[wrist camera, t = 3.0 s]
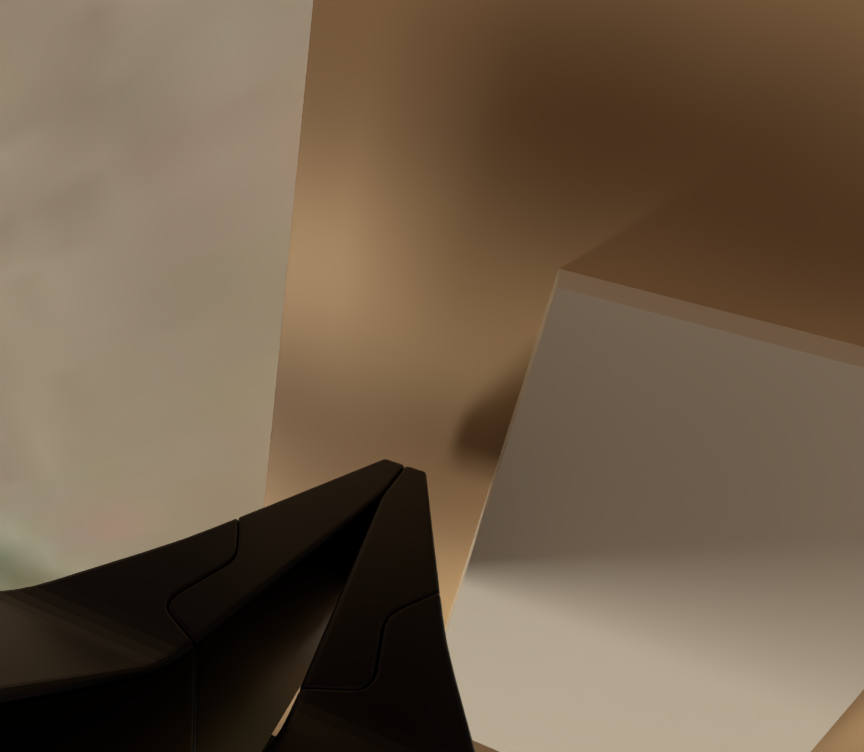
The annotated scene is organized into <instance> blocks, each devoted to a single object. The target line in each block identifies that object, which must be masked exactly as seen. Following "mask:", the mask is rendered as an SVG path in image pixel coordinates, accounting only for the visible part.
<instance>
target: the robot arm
mask: <svg viewBox="0 0 864 752" xmlns="http://www.w3.org/2000/svg"><path fill="white" fill-rule="evenodd" d="M300 686H301V687H300ZM299 688H300V692H299V693H298V695H297V697H296V699H295V701H294V704H293V706H292V708H291V710H290V712H289V714H288V716H287V718H286V720H285V722H284V724H283V726H282V728H281V730H280V731H279V732H278V734H277V735H276V736H274V735H272V733H273V732H274V730H275V728H276V727H277V725H278V723H279V722H280V720H281V718H282V717H283V715H284V713H285V712H286V710H287V708H288V707H289V705H290V703H291V702H292V700H293V698H294V697H295V695H296V693H297V691H298V690H299ZM0 752H475V748H474V744H473V741H472V737H471V733H470V730H469V726H468V722H467V719H466V715H465V711H464V708H463V704H462V700H461V697H460V693H459V689H458V686H457V682H456V678H455V674H454V670H453V666H452V662H451V657H450V653H449V649H448V644H447V639H446V633H445V626H444V620H443V613H442V605H441V597H440V590H439V581H438V572H437V563H436V555H435V546H434V537H433V529H432V520H431V511H430V503H429V494H428V485H427V476H426V473H425V472H424V471H421V470H418V469H415V468H412V467H408V466H407V467H405V468H404V466H403V465H402V464H400V463H397V462H394V461H391V460H388V459H383V460H380V461H378V462H375V463H373V464H371V465H368V466H366V467H363V468H361V469H358V470H356V471H353V472H351V473H348V474H346V475H343V476H341V477H338V478H336V479H333V480H331V481H328V482H326V483H324V484H321V485H319V486H316V487H314V488H311V489H309V490H306V491H304V492H301V493H299V494H296V495H294V496H291V497H289V498H286V499H284V500H281V501H279V502H277V503H274V504H272V505H269V506H267V507H264V508H262V509H259V510H257V511H254V512H252V513H249V514H247V515H244V516H242V517H240V518H239V521H238V520H237V519H234V520H232V521H229V522H227V523H224V524H222V525H219V526H217V527H214V528H212V529H209V530H206V531H204V532H201V533H198V534H196V535H193V536H190V537H188V538H185V539H182V540H179V541H176V542H173V543H170V544H167V545H164V546H161V547H158V548H155V549H152V550H149V551H146V552H143V553H140V554H137V555H133V556H130V557H127V558H124V559H121V560H117V561H114V562H111V563H108V564H104V565H101V566H98V567H95V568H92V569H88V570H85V571H82V572H79V573H76V574H72V575H69V576H66V577H63V578H60V579H56V580H53V581H50V582H46V583H43V584H39V585H35V586H31V587H26V588H21V589H15V590H6V591H0Z"/></svg>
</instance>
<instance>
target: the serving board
mask: <svg viewBox="0 0 864 752" xmlns="http://www.w3.org/2000/svg"><path fill="white" fill-rule="evenodd" d="M559 269H562V270H566V271H570V272H574V273H578V274H582V275H585V276H589V277H593V278H597V279H601V280H605V281H609V282H613V283H617V284H621V285H624V286H628V287H632V288H636V289H640V290H644V291H648V292H652V293H656V294H659V295H663V296H667V297H671V298H675V299H679V300H683V301H687V302H691V303H695V304H698V305H702V306H706V307H710V308H714V309H718V310H722V311H726V312H730V313H734V314H737V315H741V316H745V317H749V318H753V319H757V320H761V321H765V322H769V323H773V324H776V325H780V326H784V327H788V328H792V329H796V330H800V331H804V332H808V333H811V334H815V335H819V336H823V337H827V338H831V339H835V340H839V341H843V342H847V343H850V344H854V345H858V346H862V347H864V0H314V1H313V11H312V22H311V32H310V42H309V52H308V63H307V73H306V83H305V93H304V104H303V114H302V124H301V134H300V145H299V155H298V165H297V175H296V186H295V196H294V206H293V216H292V227H291V237H290V247H289V257H288V268H287V278H286V288H285V298H284V309H283V319H282V329H281V339H280V350H279V360H278V370H277V381H276V391H275V401H274V411H273V422H272V432H271V442H270V452H269V463H268V473H267V483H266V493H265V504H264V507H267V506H269V505H272V504H274V503H277V502H279V501H281V500H284V499H286V498H289V497H291V496H294V495H296V494H299V493H301V492H304V491H306V490H309V489H311V488H314V487H316V486H319V485H321V484H324V483H326V482H328V481H331V480H333V479H336V478H338V477H341V476H343V475H346V474H348V473H351V472H353V471H356V470H358V469H361V468H363V467H366V466H368V465H371V464H373V463H375V462H378V461H380V460H383V459H388V460H391V461H394V462H397V463H400V464H402V465H403V466H404V468H405V467H407V466H408V467H412V468H415V469H418V470H421V471H424V472H425V473H426V476H427V485H428V494H429V503H430V511H431V520H432V529H433V537H434V546H435V555H436V563H437V572H438V581H439V590H440V597H441V605H442V613H443V620H444V626H445V627H446V624H447V621H448V618H449V614H450V611H451V608H452V605H453V602H454V599H455V595H456V592H457V589H458V586H459V583H460V580H461V576H462V573H463V570H464V567H465V564H466V561H467V558H468V554H469V551H470V548H471V545H472V542H473V539H474V535H475V532H476V529H477V526H478V523H479V520H480V516H481V513H482V510H483V507H484V504H485V501H486V498H487V494H488V491H489V488H490V485H491V482H492V479H493V475H494V472H495V469H496V466H497V463H498V460H499V457H500V453H501V450H502V447H503V444H504V441H505V438H506V434H507V431H508V428H509V425H510V422H511V419H512V415H513V412H514V409H515V406H516V403H517V400H518V397H519V393H520V390H521V387H522V384H523V381H524V378H525V374H526V371H527V368H528V365H529V362H530V359H531V355H532V352H533V349H534V346H535V343H536V340H537V337H538V333H539V330H540V327H541V324H542V321H543V318H544V314H545V311H546V308H547V305H548V302H549V299H550V296H551V292H552V289H553V286H554V283H555V280H556V277H557V273H558V270H559ZM300 687H301V686H300ZM299 692H300V688H299V690H298V691H297V693H296V695H295V697H294V698H293V700H292V702H291V703H290V705H289V707H288V708H287V710H286V712H285V713H284V715H283V717H282V718H281V720H280V722H279V723H278V725H277V727H276V728H275V730H274V732H273V733H272V735H274V736H276V735H277V734H278V732H279V731H280V730H281V728H282V726H283V724H284V722H285V720H286V718H287V716H288V714H289V712H290V710H291V708H292V706H293V704H294V701H295V699H296V697H297V695H298V693H299ZM472 741H473V740H472ZM473 744H474V748H475V752H499V751H497V750H494V749H492V748H490V747H487V746H485V745H483V744H480V743H478V742H476V741H473ZM811 752H864V690H863V691H862V692H861V693H860V694H859V696H858V697H857V698H856V699H855V700H854V701H853V703H852V704H851V705H850V706H849V707H848V708H847V710H846V711H845V712H844V713H843V714H842V715H841V717H840V718H839V719H838V720H837V721H836V723H835V724H834V725H833V726H832V727H831V728H830V730H829V731H828V732H827V733H826V734H825V735H824V737H823V738H822V739H821V740H820V741H819V742H818V744H817V745H816V746H815V747H814V748H813V750H812V751H811Z"/></svg>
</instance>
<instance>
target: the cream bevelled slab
mask: <svg viewBox="0 0 864 752" xmlns="http://www.w3.org/2000/svg"><path fill="white" fill-rule="evenodd" d="M445 633H446V639H447V644H448V649H449V653H450V657H451V662H452V666H453V670H454V674H455V678H456V682H457V686H458V689H459V693H460V697H461V700H462V704H463V708H464V711H465V715H466V719H467V722H468V726H469V730H470V733H471V737H472V740H473V741H476V742H478V743H480V744H483V745H485V746H487V747H490V748H492V749H494V750H497V751H499V752H811V751H812V750H813V748H814V747H815V746H816V745H817V744H818V742H819V741H820V740H821V739H822V738H823V737H824V735H825V734H826V733H827V732H828V731H829V730H830V728H831V727H832V726H833V725H834V724H835V723H836V721H837V720H838V719H839V718H840V717H841V715H842V714H843V713H844V712H845V711H846V710H847V708H848V707H849V706H850V705H851V704H852V703H853V701H854V700H855V699H856V698H857V697H858V696H859V694H860V693H861V692H862V691H863V690H864V347H862V346H858V345H854V344H850V343H847V342H843V341H839V340H835V339H831V338H827V337H823V336H819V335H815V334H811V333H808V332H804V331H800V330H796V329H792V328H788V327H784V326H780V325H776V324H773V323H769V322H765V321H761V320H757V319H753V318H749V317H745V316H741V315H737V314H734V313H730V312H726V311H722V310H718V309H714V308H710V307H706V306H702V305H698V304H695V303H691V302H687V301H683V300H679V299H675V298H671V297H667V296H663V295H659V294H656V293H652V292H648V291H644V290H640V289H636V288H632V287H628V286H624V285H621V284H617V283H613V282H609V281H605V280H601V279H597V278H593V277H589V276H585V275H582V274H578V273H574V272H570V271H566V270H562V269H559V270H558V273H557V277H556V280H555V283H554V286H553V289H552V292H551V296H550V299H549V302H548V305H547V308H546V311H545V314H544V318H543V321H542V324H541V327H540V330H539V333H538V337H537V340H536V343H535V346H534V349H533V352H532V355H531V359H530V362H529V365H528V368H527V371H526V374H525V378H524V381H523V384H522V387H521V390H520V393H519V397H518V400H517V403H516V406H515V409H514V412H513V415H512V419H511V422H510V425H509V428H508V431H507V434H506V438H505V441H504V444H503V447H502V450H501V453H500V457H499V460H498V463H497V466H496V469H495V472H494V475H493V479H492V482H491V485H490V488H489V491H488V494H487V498H486V501H485V504H484V507H483V510H482V513H481V516H480V520H479V523H478V526H477V529H476V532H475V535H474V539H473V542H472V545H471V548H470V551H469V554H468V558H467V561H466V564H465V567H464V570H463V573H462V576H461V580H460V583H459V586H458V589H457V592H456V595H455V599H454V602H453V605H452V608H451V611H450V614H449V618H448V621H447V624H446V627H445Z"/></svg>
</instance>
